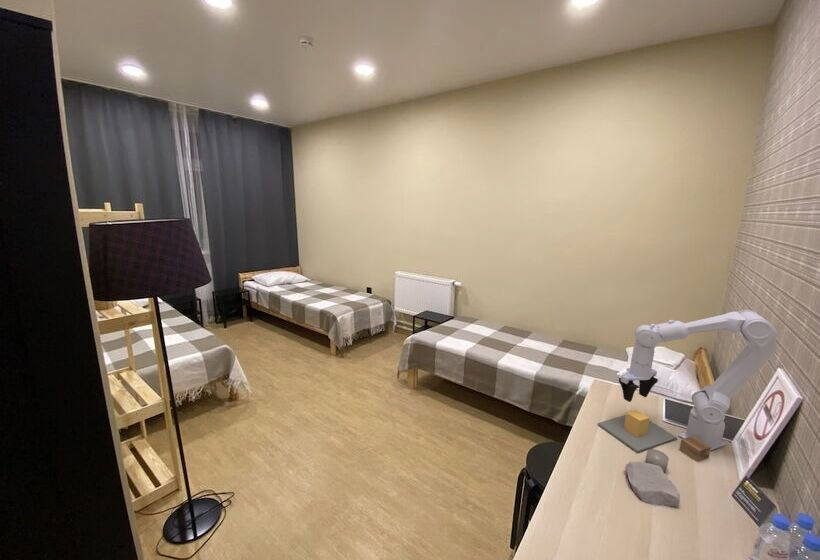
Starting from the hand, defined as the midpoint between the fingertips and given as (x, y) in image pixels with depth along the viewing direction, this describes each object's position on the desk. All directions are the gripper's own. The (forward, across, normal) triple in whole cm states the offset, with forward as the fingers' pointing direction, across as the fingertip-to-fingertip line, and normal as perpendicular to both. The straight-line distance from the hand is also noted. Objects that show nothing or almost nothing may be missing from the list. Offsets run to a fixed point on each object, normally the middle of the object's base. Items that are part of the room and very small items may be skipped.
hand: (635, 398), depth 114 cm
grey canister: (+10, +13, +17) cm, 23 cm away
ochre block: (+9, +4, +4) cm, 11 cm away
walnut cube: (+10, -4, +17) cm, 20 cm away
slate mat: (+9, +3, +4) cm, 11 cm away
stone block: (+10, +22, +20) cm, 31 cm away
